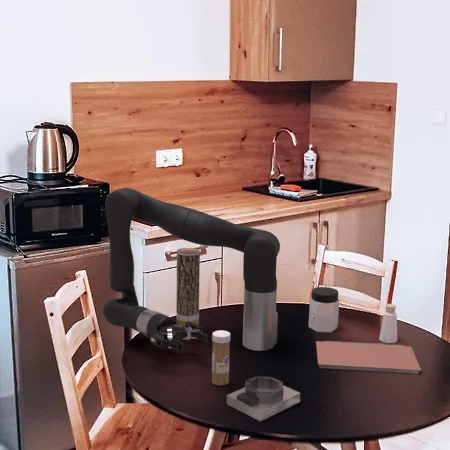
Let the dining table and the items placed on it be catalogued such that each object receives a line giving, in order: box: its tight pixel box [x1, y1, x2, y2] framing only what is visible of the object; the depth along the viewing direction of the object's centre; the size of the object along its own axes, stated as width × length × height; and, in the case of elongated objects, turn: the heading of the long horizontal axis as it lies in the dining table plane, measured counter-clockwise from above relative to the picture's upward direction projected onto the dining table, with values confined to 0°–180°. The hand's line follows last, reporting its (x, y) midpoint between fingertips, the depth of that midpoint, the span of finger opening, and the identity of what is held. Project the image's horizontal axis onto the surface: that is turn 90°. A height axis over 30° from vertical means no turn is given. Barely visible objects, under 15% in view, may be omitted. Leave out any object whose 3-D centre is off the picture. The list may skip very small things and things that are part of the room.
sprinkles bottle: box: [211, 329, 231, 387], centre depth 178 cm, size 5×5×14 cm
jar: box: [308, 286, 340, 333], centre depth 216 cm, size 9×8×12 cm
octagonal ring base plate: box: [226, 376, 301, 422], centre depth 169 cm, size 14×11×5 cm
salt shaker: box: [378, 303, 398, 344], centre depth 208 cm, size 5×5×11 cm
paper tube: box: [175, 247, 201, 334], centre depth 210 cm, size 7×7×25 cm
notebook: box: [315, 340, 422, 375], centre depth 196 cm, size 27×17×2 cm, turn 85°
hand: (194, 343), depth 185 cm, fingers open, 8 cm apart
